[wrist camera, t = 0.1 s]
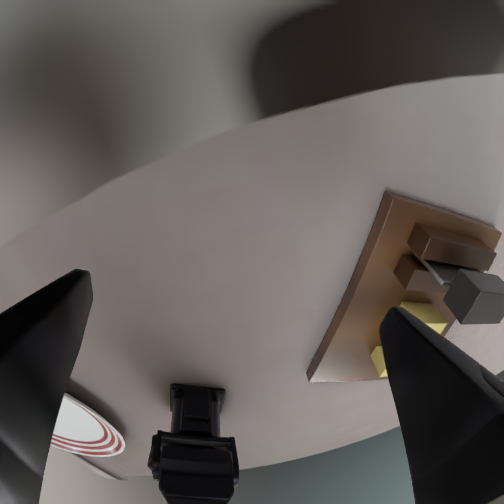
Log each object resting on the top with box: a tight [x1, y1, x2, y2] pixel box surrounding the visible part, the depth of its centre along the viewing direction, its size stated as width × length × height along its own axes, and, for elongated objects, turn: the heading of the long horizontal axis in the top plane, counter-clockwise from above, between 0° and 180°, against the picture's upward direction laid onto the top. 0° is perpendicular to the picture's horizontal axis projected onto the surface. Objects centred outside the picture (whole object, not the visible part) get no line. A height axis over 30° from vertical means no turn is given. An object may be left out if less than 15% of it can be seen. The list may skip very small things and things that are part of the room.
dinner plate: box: [50, 393, 126, 457], centre depth 35 cm, size 28×27×3 cm
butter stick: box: [399, 302, 447, 334], centre depth 27 cm, size 5×4×3 cm
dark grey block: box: [412, 250, 504, 324], centre depth 21 cm, size 3×8×8 cm, turn 79°
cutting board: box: [306, 192, 502, 382], centre depth 28 cm, size 22×16×4 cm
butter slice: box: [370, 346, 388, 377], centre depth 29 cm, size 2×4×3 cm, turn 79°
